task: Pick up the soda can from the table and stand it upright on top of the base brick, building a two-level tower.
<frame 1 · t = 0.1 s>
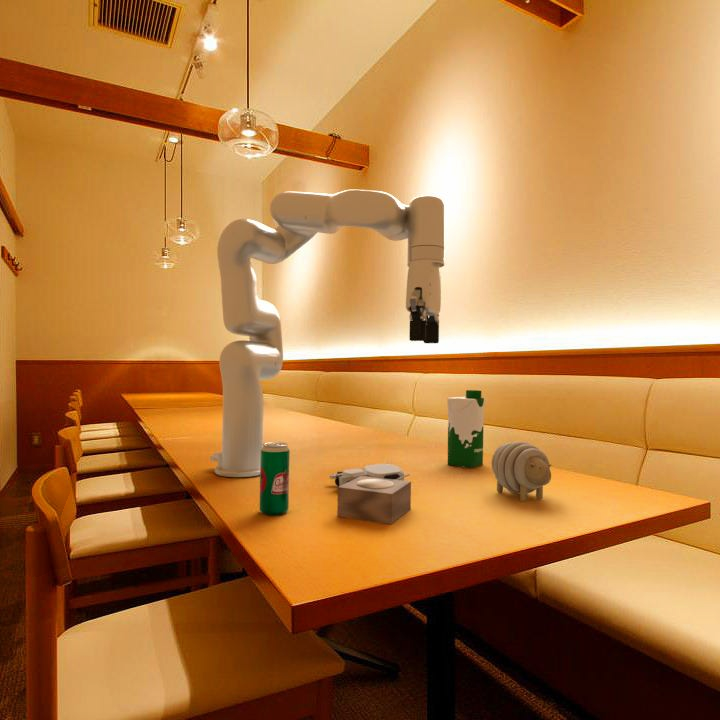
hand: (424, 342, 103), 31 cm above the table, tool pointing down, fingers open, 9 cm apart
base brick: (375, 512, 90), on the table
soda can: (273, 513, 89), on the table
milk carton: (465, 465, 135), on the table
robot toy: (368, 489, 107), on the table
toy sheep: (519, 496, 103), on the table
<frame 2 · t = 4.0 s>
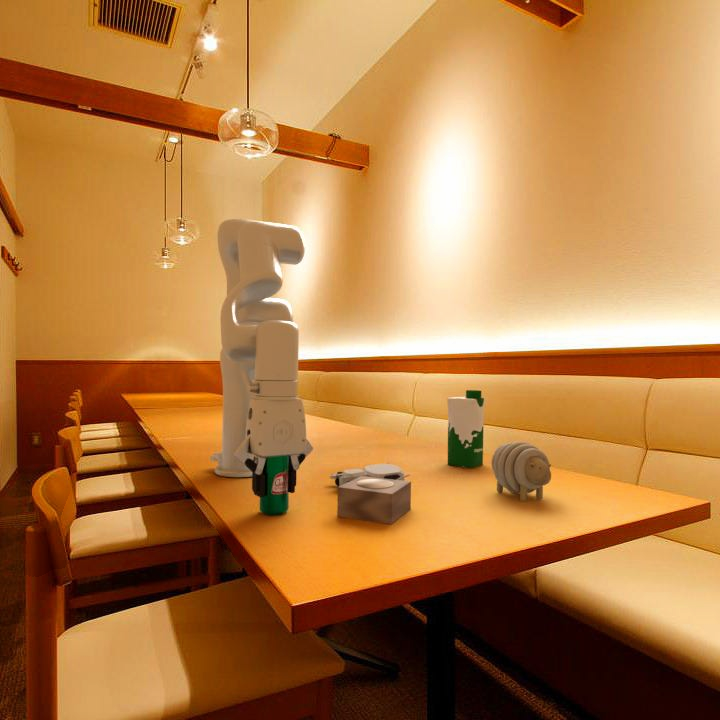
hand: (274, 492, 89), 3 cm above the table, tool pointing down, fingers closed on soda can, 5 cm apart
soda can: (274, 513, 89), on the table, touching gripper
everything else where it was.
when the fingers open (10 cm above the table, at t = 9.8 s): soda can drops 1 cm, resting on base brick.
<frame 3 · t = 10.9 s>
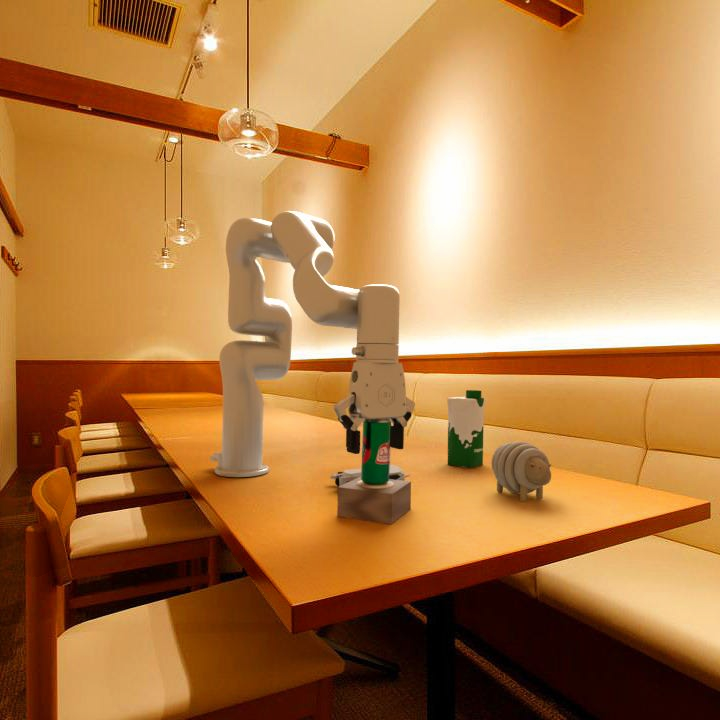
hand: (375, 450, 90), 11 cm above the table, tool pointing down, fingers open, 9 cm apart
soda can: (374, 483, 90), point 5 cm above the table, touching base brick
everything else where it was.
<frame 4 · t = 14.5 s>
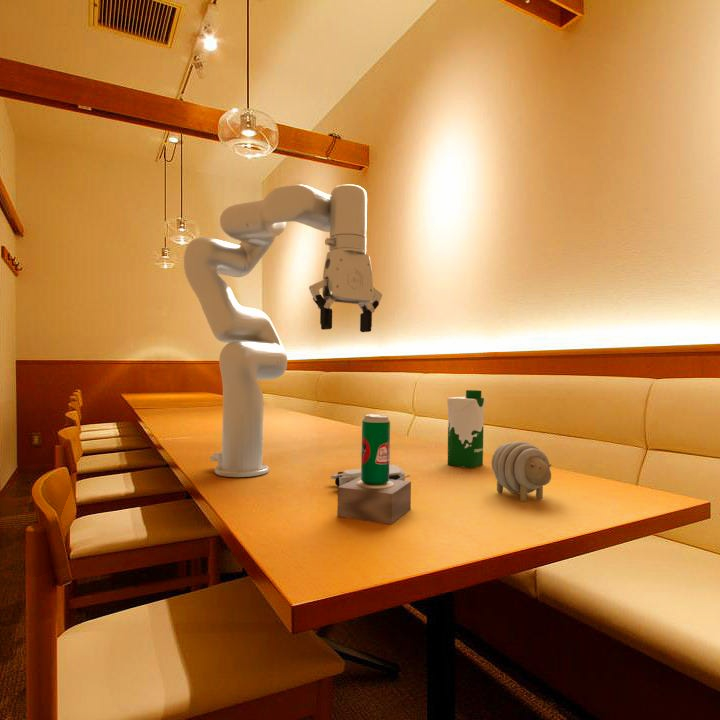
hand: (346, 330, 103), 33 cm above the table, tool pointing down, fingers open, 9 cm apart
nothing on the table moved.
at the end: soda can 0.1 cm off-centre on the base brick, point 5.0 cm above the base brick's base; soda can tilted 0°; the gripper is holding nothing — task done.
